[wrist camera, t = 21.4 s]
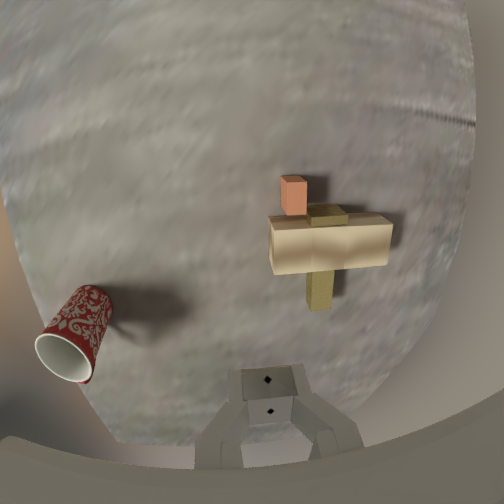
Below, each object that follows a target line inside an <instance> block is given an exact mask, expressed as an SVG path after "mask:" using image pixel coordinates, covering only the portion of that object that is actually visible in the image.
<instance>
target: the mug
mask: <svg viewBox="0 0 504 504" xmlns="http://www.w3.org/2000/svg"><path fill="white" fill-rule="evenodd" d="M112 312H113V307H112V303H111V301H110V299H109V298H108V296H107V295H106V294H105V293H104V292H103V291H102V290H100V289H98V288H96V287H94V286H89V285H86V286H82V287H80V288H78V289H77V290H76V291H75V293H74V294H73V295H72V296H71V298H70V299H69V300H68V301H67V302H66V304H65V305H64V306H63V307H62V309H61V310H60V311H59V312H58V313H57V315H56V316H55V317H54V318H53V320H52V321H51V322H50V324H49V325H48V326H47V327H46V329H45V330H44V331H43V333H42V334H40V335H39V336H38V337H37V338H36V340H35V349H36V352H37V355H38V356H39V358H40V360H41V361H42V362H43V364H44V365H45V366H46V367H47V368H48V369H49V370H50V371H52V372H53V373H55V374H56V375H57V376H60V377H62V378H63V379H66V380H69V381H74V382H78V383H81V384H87V383H88V382H89V381H90V380H91V378H92V375H93V372H94V367H95V361H96V356H97V353H98V350H99V347H100V344H101V342H102V339H103V336H104V334H105V331H106V328H107V326H108V323H109V321H110V318H111V315H112Z"/></svg>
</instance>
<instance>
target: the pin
mask: <svg viewBox="0 0 504 504" xmlns="http://www.w3.org/2000/svg"><path fill="white" fill-rule="evenodd" d="M303 216H304V218H305V219H306V221H307V222H308V223H309V225H310V226H311V227H317V226H330V225H343V224H348V214H347V213H345V212H344V211H343V210H342V209H341V208H340V207H339V206H337V205H336V204H325V205H309V206H307V211H306V215H303ZM334 271H335V270H329V271H317V272H307V280H306V301H307V304H308V306H309V309H310V311H318V310H326V309H331V304H332V294H333V283H334Z"/></svg>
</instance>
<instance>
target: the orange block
mask: <svg viewBox="0 0 504 504" xmlns="http://www.w3.org/2000/svg"><path fill="white" fill-rule="evenodd" d="M281 207H282V208H283V210H284V212H285V213H286V215H306V211H307V181H305V180H304V179H303V178H302V177H300V176H299V175H293V176H281Z"/></svg>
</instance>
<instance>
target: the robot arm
mask: <svg viewBox="0 0 504 504" xmlns="http://www.w3.org/2000/svg"><path fill="white" fill-rule="evenodd" d="M241 374H242V375H241ZM228 389H229V402H225V404H224V405H223V406H222V408H221V409H220V410H219V412H218V413H217V414H216V416H215V417H214V418H213V420H212V421H211V422H210V423H209V425H208V426H207V427H206V429H205V430H204V431H203V432H202V434H201V435H200V436H199V438H198V439H197V440H196V441H195V467H194V469H172V468H156V467H146V466H137V465H129V464H122V463H115V462H108V461H103V460H97V459H93V458H88V457H83V456H78V455H74V454H70V453H66V452H62V451H59V450H55V449H51V448H48V447H45V446H41V445H38V444H35V443H32V442H29V441H26V440H24V439H21V438H18V437H15V436H9V437H7V438H5V439H3V440H2V441H0V504H504V388H503V389H502V390H500V391H498V392H497V393H495V394H493V395H492V396H490V397H488V398H487V399H484V400H483V401H481V402H479V403H477V404H475V405H473V406H471V407H469V408H467V409H465V410H463V411H461V412H459V413H457V414H455V415H453V416H451V417H448V418H446V419H444V420H442V421H439V422H437V423H435V424H432V425H430V426H428V427H425V428H423V429H420V430H418V431H415V432H412V433H409V434H407V435H404V436H401V437H398V438H395V439H392V440H389V441H386V442H383V443H380V444H377V445H373V446H369V447H366V448H365V447H364V444H363V441H362V438H361V436H360V433H359V430H358V428H357V425H356V423H355V422H354V421H352V420H351V419H350V418H348V417H347V416H345V415H344V414H343V413H341V412H340V411H339V410H337V409H336V408H335V407H333V406H332V405H331V404H329V403H328V402H327V401H325V400H324V399H323V398H321V397H320V396H319V395H317V394H316V393H312V392H311V389H310V385H309V382H308V379H307V375H306V372H305V369H304V365H303V364H302V363H301V364H293V365H284V366H276V367H267V368H258V369H241V370H228ZM284 421H291V422H292V423H293V424H294V425H295V426H296V427H297V428H298V429H299V430H300V431H301V432H302V433H303V434H304V435H305V436H306V437H307V438H308V439H309V440H310V441H311V442H312V443H313V446H312V450H311V453H310V456H309V459H308V461H302V462H296V463H289V464H282V465H273V466H264V467H253V468H244V465H243V459H242V453H241V447H240V443H241V441H242V439H243V437H244V436H245V434H246V432H247V431H248V429H249V427H250V425H256V424H264V423H273V422H284Z"/></svg>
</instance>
